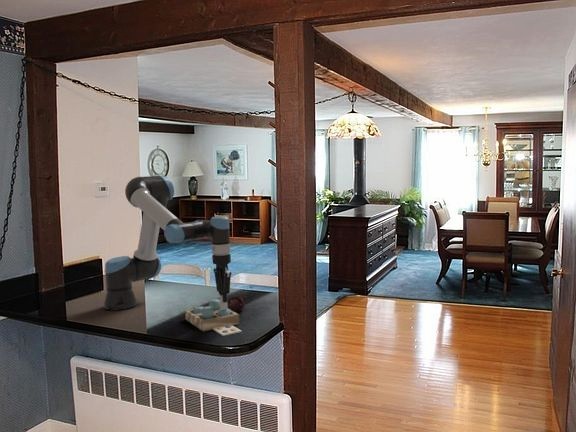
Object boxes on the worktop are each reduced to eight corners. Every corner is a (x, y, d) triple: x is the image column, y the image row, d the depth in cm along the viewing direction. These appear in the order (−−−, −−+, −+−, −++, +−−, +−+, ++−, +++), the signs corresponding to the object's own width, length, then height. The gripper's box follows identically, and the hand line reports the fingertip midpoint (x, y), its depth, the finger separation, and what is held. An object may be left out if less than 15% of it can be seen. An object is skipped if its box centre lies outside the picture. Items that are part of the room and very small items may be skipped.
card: (212, 329, 207) (212, 327, 207) (230, 325, 212) (230, 323, 211) (222, 336, 199) (222, 334, 199) (241, 332, 203) (241, 330, 203)
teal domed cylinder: (200, 319, 212) (199, 308, 212) (211, 317, 215) (210, 306, 215) (204, 321, 208) (204, 310, 208) (215, 319, 211) (215, 308, 210)
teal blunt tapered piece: (216, 320, 216) (216, 309, 216) (227, 318, 219) (226, 307, 218) (221, 323, 212) (220, 312, 212) (232, 321, 215) (231, 310, 214)
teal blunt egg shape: (207, 310, 224) (207, 300, 224) (217, 308, 227) (217, 298, 227) (211, 313, 220) (211, 302, 220) (222, 311, 223) (221, 300, 222)
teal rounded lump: (192, 318, 221) (191, 307, 220) (202, 316, 223) (202, 305, 223) (196, 321, 217) (195, 310, 216) (206, 319, 219) (206, 308, 219)
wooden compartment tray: (185, 319, 222) (185, 310, 222) (219, 312, 231) (219, 304, 230) (203, 331, 205) (202, 321, 205) (239, 323, 214) (238, 314, 213)
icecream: (237, 302, 224) (252, 296, 238) (223, 296, 226) (238, 291, 240) (234, 317, 224) (249, 310, 238) (219, 311, 227) (235, 305, 241)
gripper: (206, 252, 216) (209, 307, 219) (219, 257, 205) (222, 314, 208) (223, 250, 220) (225, 304, 223) (236, 254, 209) (238, 311, 212)
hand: (224, 309), depth 215 cm, fingers closed
